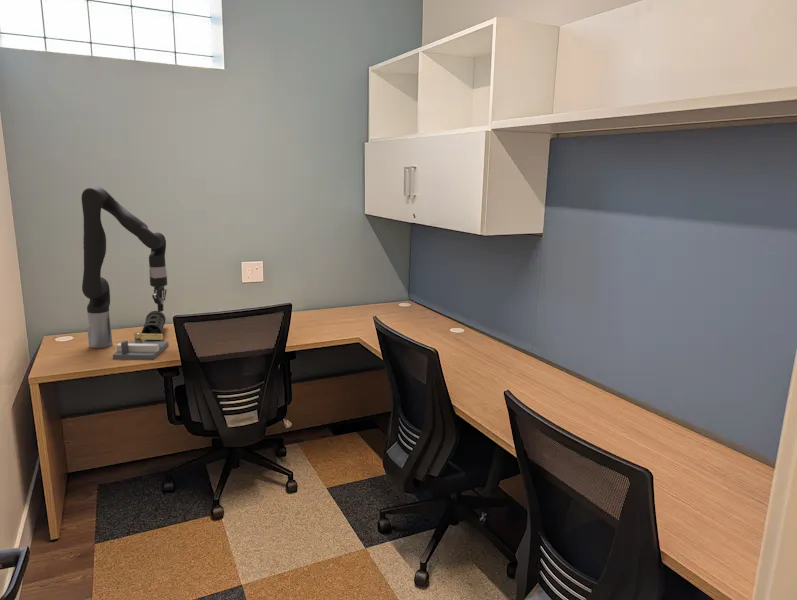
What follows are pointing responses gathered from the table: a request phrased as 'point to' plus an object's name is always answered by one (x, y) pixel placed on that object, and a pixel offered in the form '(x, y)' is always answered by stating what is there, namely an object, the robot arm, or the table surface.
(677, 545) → the table surface
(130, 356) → the lock board
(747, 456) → the table surface
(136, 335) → the swing bar
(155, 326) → the muzzle brake
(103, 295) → the robot arm
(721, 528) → the table surface
